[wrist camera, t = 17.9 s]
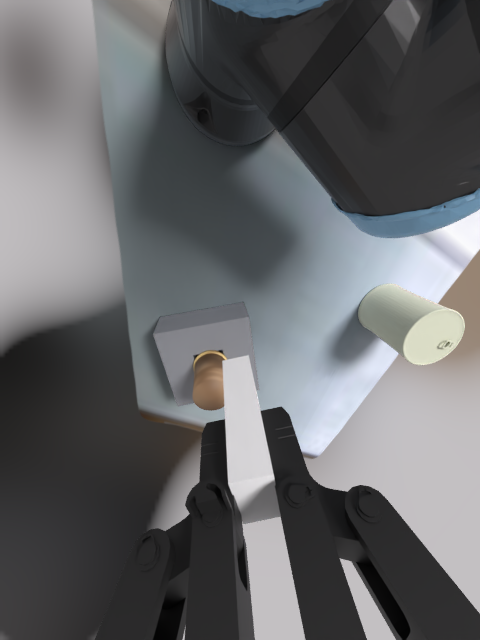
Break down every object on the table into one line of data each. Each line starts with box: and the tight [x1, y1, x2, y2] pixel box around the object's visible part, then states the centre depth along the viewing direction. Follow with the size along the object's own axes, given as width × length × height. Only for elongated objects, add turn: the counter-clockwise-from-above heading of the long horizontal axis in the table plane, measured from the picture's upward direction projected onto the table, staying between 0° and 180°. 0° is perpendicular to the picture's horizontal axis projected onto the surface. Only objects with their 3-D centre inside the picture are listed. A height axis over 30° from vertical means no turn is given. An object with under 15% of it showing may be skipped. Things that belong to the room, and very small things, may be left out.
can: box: [358, 284, 465, 365], centre depth 40 cm, size 9×9×12 cm
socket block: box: [153, 302, 259, 406], centre depth 41 cm, size 14×14×6 cm
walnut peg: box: [193, 350, 227, 410], centre depth 38 cm, size 5×5×13 cm
